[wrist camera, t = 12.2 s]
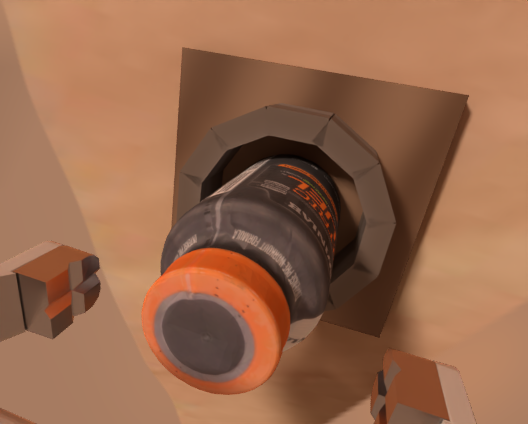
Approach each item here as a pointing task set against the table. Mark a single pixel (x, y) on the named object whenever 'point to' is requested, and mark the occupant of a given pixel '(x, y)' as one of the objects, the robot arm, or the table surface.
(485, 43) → the table surface
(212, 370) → the pill bottle
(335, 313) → the holder
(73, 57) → the table surface
